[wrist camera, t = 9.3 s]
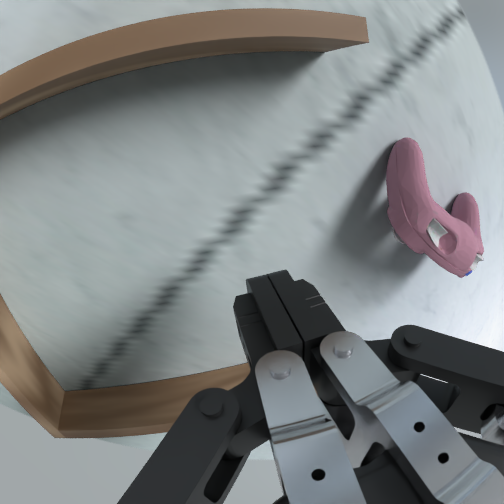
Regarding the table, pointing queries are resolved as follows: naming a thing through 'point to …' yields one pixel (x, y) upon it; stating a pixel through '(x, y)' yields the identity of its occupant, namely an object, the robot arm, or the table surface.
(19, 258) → the table surface
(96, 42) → the wooden u-shaped frame
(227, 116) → the table surface
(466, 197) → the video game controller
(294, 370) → the robot arm
